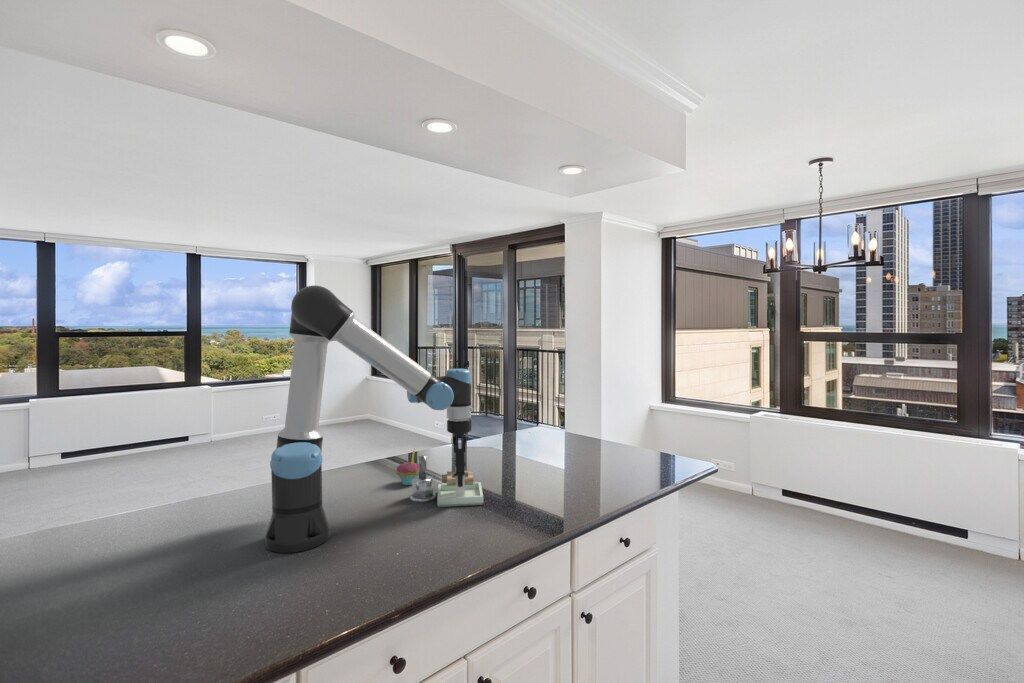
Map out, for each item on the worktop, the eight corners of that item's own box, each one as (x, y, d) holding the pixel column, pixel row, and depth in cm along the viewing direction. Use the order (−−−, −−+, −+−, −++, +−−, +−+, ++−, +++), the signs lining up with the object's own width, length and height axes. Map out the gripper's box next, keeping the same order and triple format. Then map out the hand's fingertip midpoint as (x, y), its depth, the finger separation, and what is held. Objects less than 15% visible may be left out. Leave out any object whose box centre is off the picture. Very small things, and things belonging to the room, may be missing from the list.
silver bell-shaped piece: (435, 501, 154) (435, 459, 154) (408, 502, 153) (408, 460, 153) (436, 492, 162) (435, 452, 162) (411, 493, 161) (410, 453, 161)
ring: (473, 484, 153) (473, 478, 153) (441, 486, 152) (441, 479, 152) (472, 476, 161) (472, 470, 161) (442, 478, 160) (442, 471, 160)
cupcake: (424, 479, 176) (424, 445, 175) (417, 487, 167) (417, 451, 167) (400, 479, 177) (400, 445, 176) (392, 487, 168) (392, 451, 168)
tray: (483, 504, 151) (483, 496, 151) (437, 506, 150) (437, 498, 149) (480, 489, 165) (480, 482, 165) (438, 491, 163) (438, 484, 163)
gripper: (472, 425, 146) (473, 502, 147) (470, 412, 167) (470, 480, 168) (446, 426, 145) (447, 504, 146) (447, 413, 166) (448, 481, 167)
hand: (460, 491), depth 157 cm, fingers closed on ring, 8 cm apart
